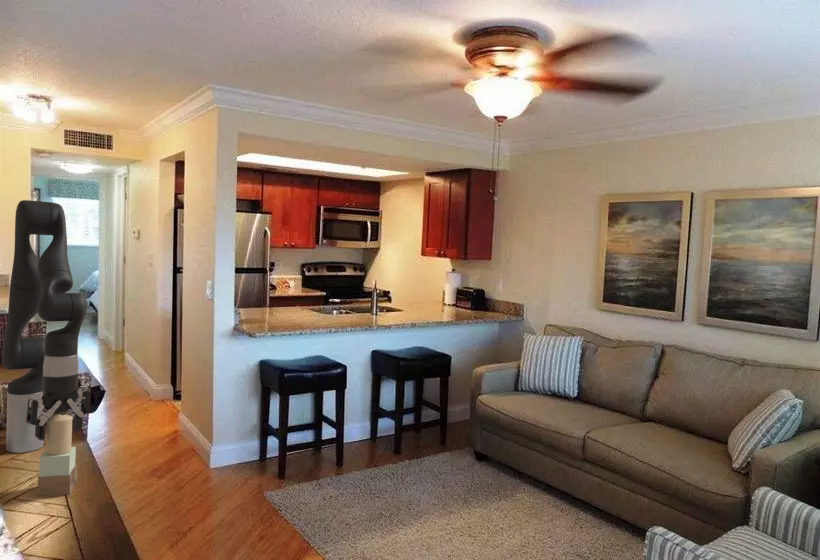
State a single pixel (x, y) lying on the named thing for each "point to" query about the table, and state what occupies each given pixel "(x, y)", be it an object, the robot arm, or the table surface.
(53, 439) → the candle
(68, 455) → the top block
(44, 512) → the table surface
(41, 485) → the base block
